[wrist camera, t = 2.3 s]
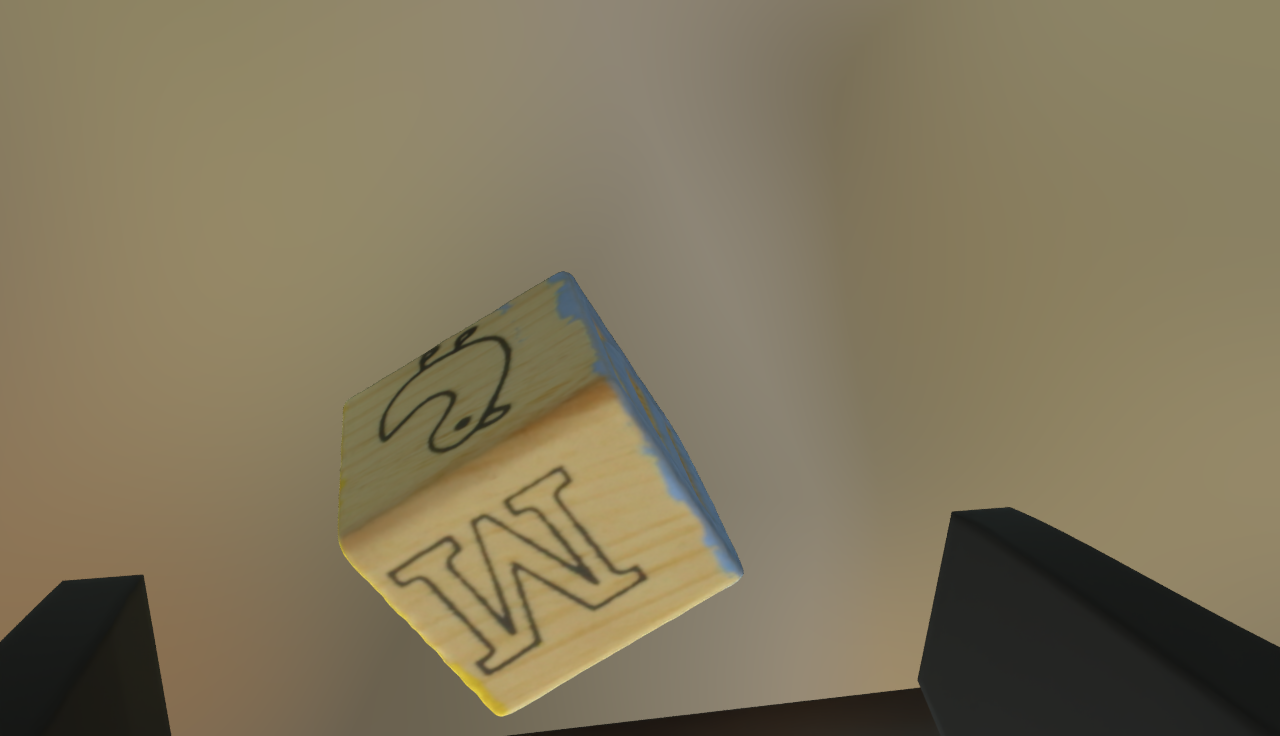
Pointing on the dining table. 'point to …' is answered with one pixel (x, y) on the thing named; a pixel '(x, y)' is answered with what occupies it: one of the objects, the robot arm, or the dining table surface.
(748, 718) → the board
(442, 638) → the alphabet block
